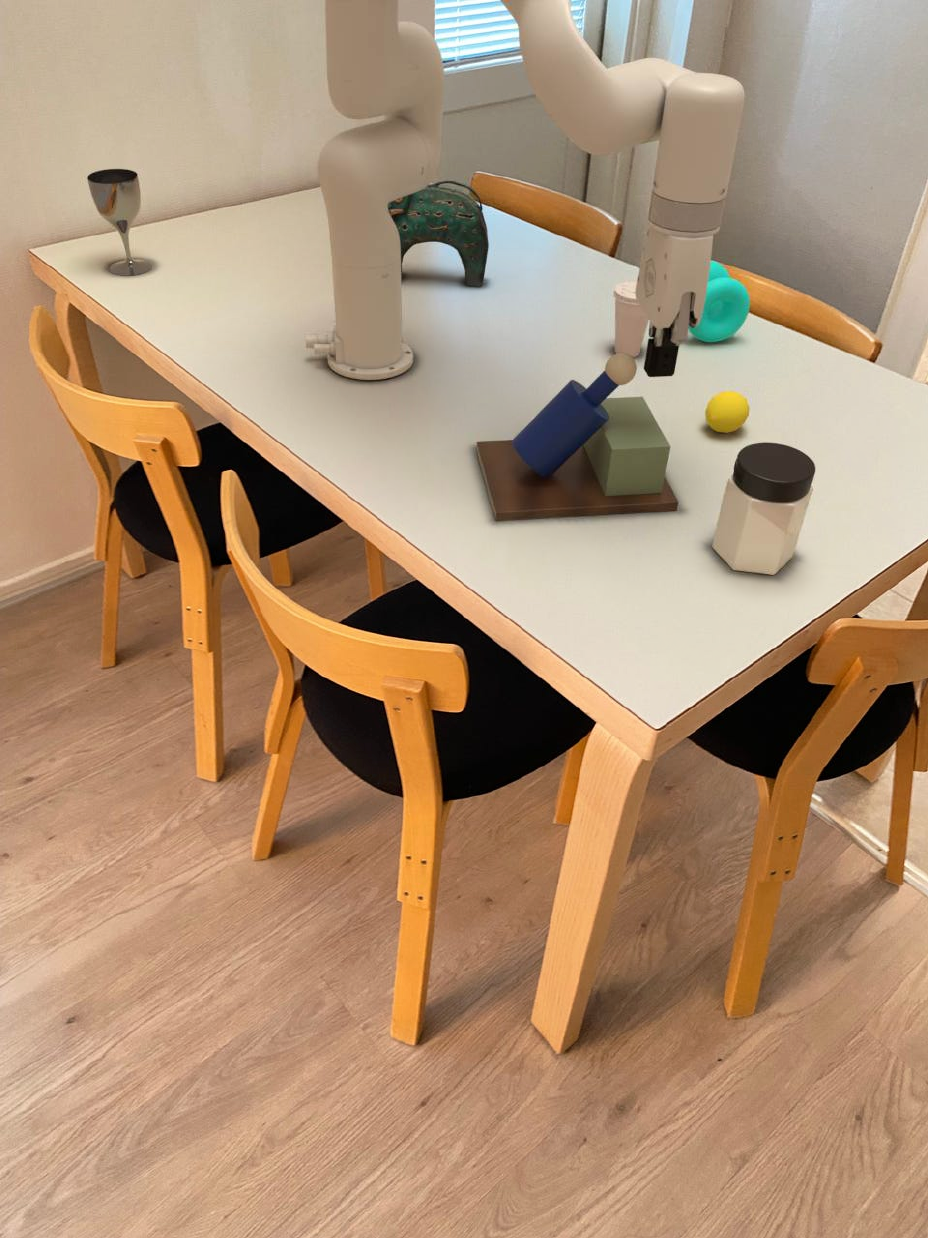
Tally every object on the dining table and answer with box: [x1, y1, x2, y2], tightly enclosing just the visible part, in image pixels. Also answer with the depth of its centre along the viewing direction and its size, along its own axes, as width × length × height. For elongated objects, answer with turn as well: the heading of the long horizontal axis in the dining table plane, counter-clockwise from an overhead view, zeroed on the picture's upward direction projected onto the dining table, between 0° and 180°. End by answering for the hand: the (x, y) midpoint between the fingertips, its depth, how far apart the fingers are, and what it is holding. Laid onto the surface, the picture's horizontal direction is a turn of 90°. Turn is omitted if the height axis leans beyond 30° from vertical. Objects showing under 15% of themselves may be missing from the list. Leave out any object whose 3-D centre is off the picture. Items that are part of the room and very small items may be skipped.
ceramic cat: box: [388, 180, 490, 288], centre depth 161 cm, size 20×6×20 cm, turn 83°
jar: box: [711, 441, 816, 576], centre depth 106 cm, size 9×8×12 cm
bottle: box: [512, 353, 638, 478], centre depth 115 cm, size 14×6×15 cm, turn 98°
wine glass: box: [86, 168, 153, 277], centre depth 163 cm, size 8×8×15 cm
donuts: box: [688, 259, 751, 343], centre depth 151 cm, size 10×10×10 cm
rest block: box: [583, 396, 671, 496], centre depth 119 cm, size 7×12×6 cm, turn 8°
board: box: [475, 439, 679, 522], centre depth 120 cm, size 22×16×1 cm
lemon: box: [704, 390, 750, 434], centre depth 129 cm, size 7×5×5 cm
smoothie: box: [612, 281, 650, 358], centre depth 143 cm, size 6×6×14 cm
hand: (658, 373), depth 113 cm, fingers closed
